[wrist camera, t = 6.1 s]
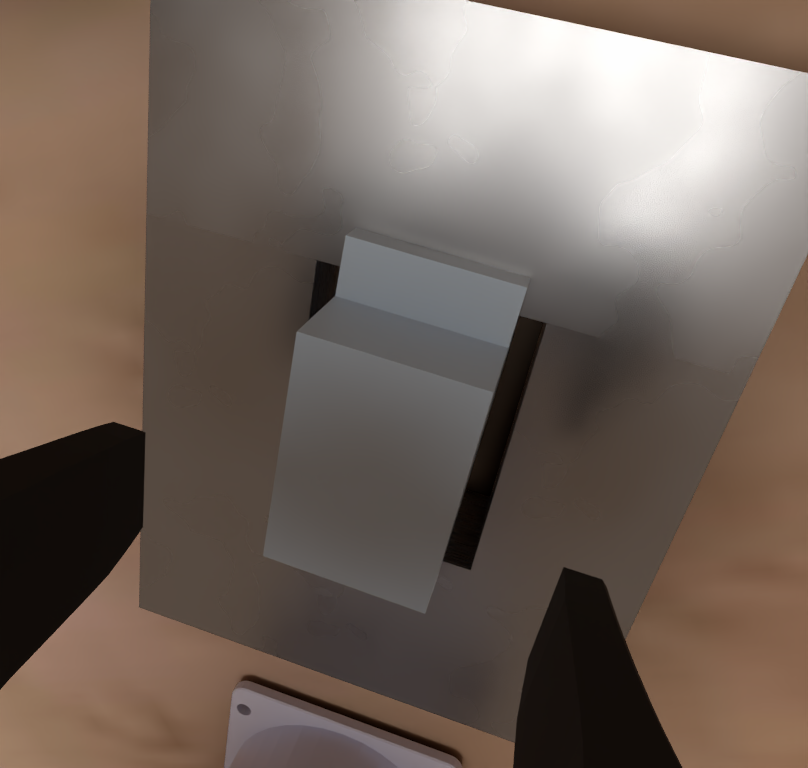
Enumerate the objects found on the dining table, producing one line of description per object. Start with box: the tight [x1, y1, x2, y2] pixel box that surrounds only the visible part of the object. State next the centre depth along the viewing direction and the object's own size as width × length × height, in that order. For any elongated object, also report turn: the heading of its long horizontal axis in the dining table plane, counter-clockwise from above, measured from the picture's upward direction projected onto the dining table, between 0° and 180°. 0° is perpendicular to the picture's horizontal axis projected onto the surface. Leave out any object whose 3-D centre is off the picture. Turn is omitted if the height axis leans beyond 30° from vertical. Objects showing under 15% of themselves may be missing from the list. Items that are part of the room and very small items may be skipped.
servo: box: [263, 228, 530, 614], centre depth 15 cm, size 8×3×6 cm, turn 168°
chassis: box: [139, 0, 808, 743], centre depth 16 cm, size 16×12×3 cm
